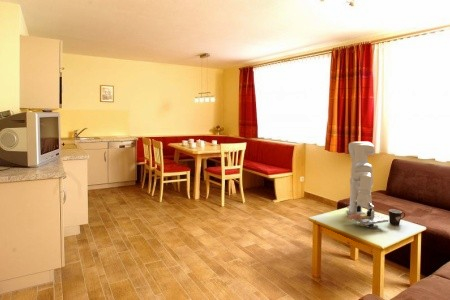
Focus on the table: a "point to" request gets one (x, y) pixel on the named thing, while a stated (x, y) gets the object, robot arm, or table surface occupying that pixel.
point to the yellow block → (363, 218)
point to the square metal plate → (371, 219)
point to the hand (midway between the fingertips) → (363, 213)
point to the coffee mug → (395, 217)
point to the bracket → (355, 216)
